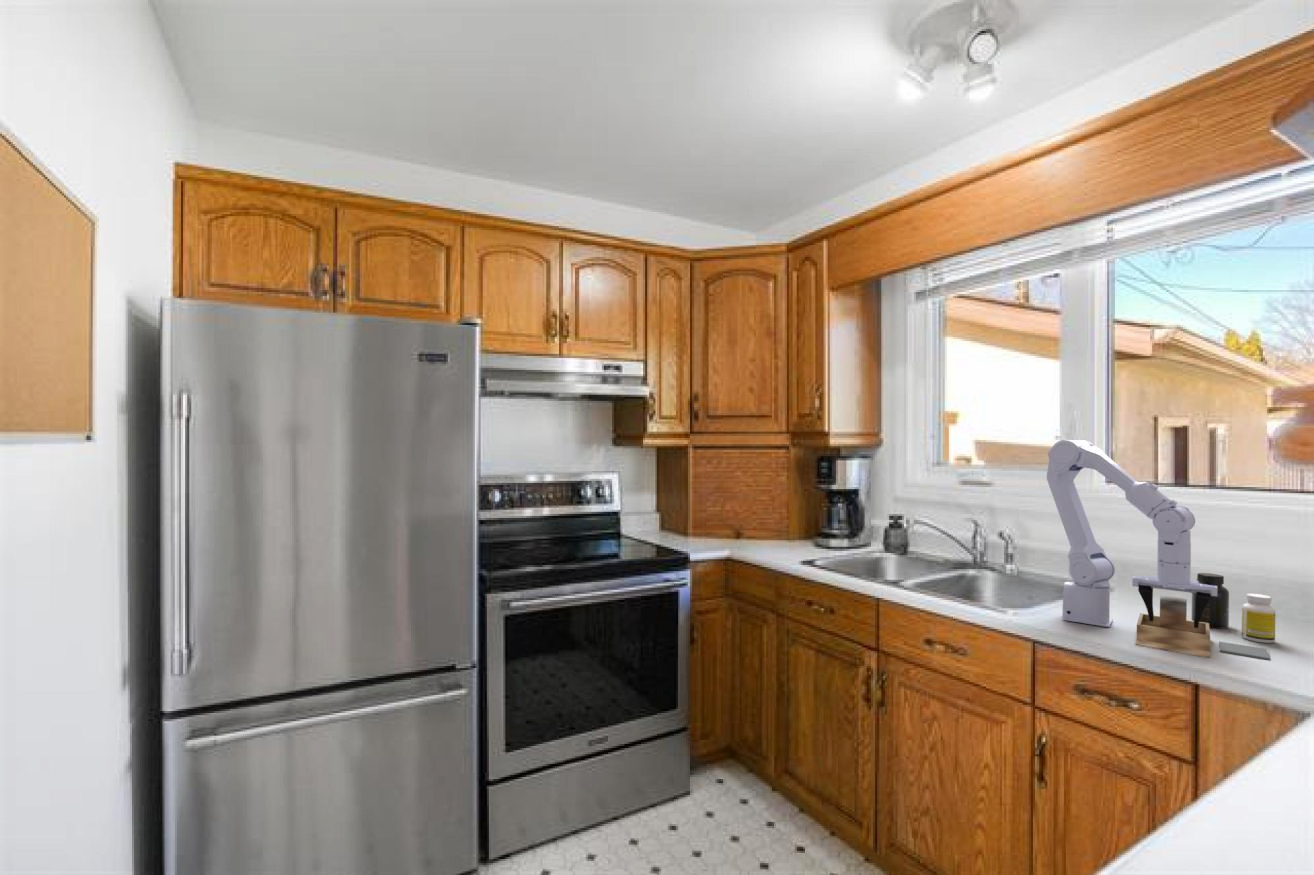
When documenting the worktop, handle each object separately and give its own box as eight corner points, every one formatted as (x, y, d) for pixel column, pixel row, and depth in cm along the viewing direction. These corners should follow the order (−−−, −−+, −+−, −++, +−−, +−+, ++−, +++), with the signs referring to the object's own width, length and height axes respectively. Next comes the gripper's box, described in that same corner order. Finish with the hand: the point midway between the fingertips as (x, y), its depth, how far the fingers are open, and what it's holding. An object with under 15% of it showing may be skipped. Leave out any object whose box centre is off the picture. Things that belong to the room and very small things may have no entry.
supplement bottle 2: (1281, 644, 139) (1282, 599, 139) (1252, 642, 140) (1253, 597, 140) (1263, 636, 145) (1264, 593, 145) (1235, 635, 146) (1236, 591, 146)
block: (1159, 640, 141) (1160, 599, 141) (1160, 635, 145) (1160, 595, 145) (1185, 644, 139) (1186, 602, 139) (1186, 639, 142) (1186, 598, 142)
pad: (1220, 651, 134) (1220, 649, 134) (1219, 643, 140) (1219, 641, 140) (1269, 660, 129) (1269, 658, 129) (1266, 650, 135) (1266, 648, 135)
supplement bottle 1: (1236, 629, 150) (1237, 578, 150) (1203, 628, 151) (1204, 577, 151) (1215, 621, 157) (1216, 572, 157) (1184, 619, 158) (1185, 571, 158)
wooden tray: (1135, 644, 138) (1135, 628, 138) (1141, 624, 153) (1141, 609, 153) (1210, 657, 130) (1210, 640, 130) (1208, 634, 146) (1208, 619, 146)
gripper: (1131, 560, 143) (1131, 621, 143) (1218, 568, 134) (1217, 634, 134) (1133, 555, 149) (1133, 614, 149) (1217, 564, 139) (1216, 626, 139)
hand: (1173, 623), depth 142 cm, fingers open, 7 cm apart
